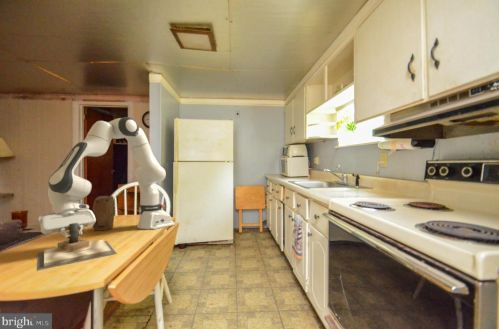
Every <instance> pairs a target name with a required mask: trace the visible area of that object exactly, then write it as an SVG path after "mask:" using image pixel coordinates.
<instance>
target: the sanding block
mask: <svg viewBox="0 0 499 329" xmlns="http://www.w3.org/2000/svg"><path fill="white" fill-rule="evenodd" d="M78 231H79V230H78V223H72V224H69V230H68V233H70V238H68V240H64V241H61V242H60V241H59V242H57V247H58V249H61V250H67V251H72V252H73V251H76V250H80V249H83V248H86V247H89V242H90V240H86V239H80V238H79V236H78Z"/></svg>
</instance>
